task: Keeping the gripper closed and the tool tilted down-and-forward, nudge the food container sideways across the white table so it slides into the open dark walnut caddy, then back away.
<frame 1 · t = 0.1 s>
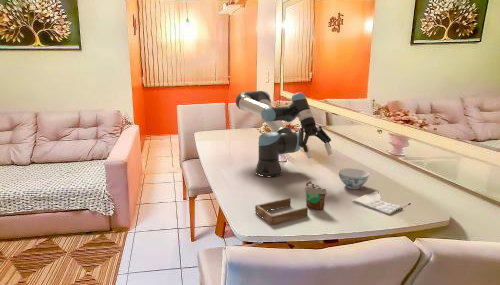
hand: (320, 156, 177), 15 cm above the table, tool tilted 35°, fingers open, 13 cm apart
chinaware: (352, 187, 177), on the table
caddy: (281, 214, 144), on the table
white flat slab: (381, 204, 156), on the table
food container: (311, 207, 152), on the table
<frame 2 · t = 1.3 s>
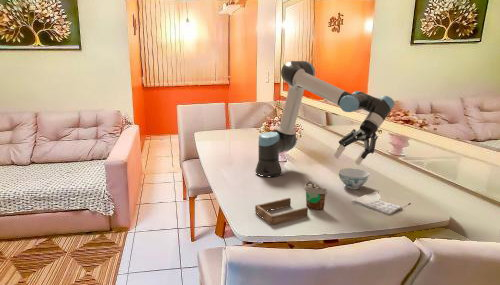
hand: (345, 160, 157), 19 cm above the table, tool tilted 45°, fingers open, 13 cm apart
nothing on the table moved.
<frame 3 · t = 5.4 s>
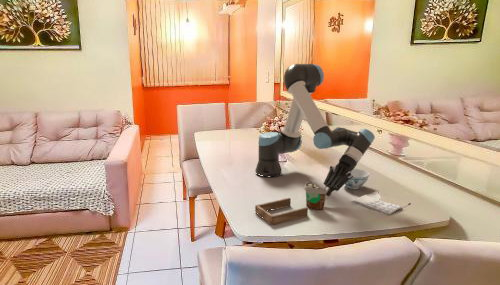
hand: (321, 200, 152), 3 cm above the table, tool tilted 45°, fingers closed
food container: (311, 207, 152), on the table, touching gripper
everything else where it was.
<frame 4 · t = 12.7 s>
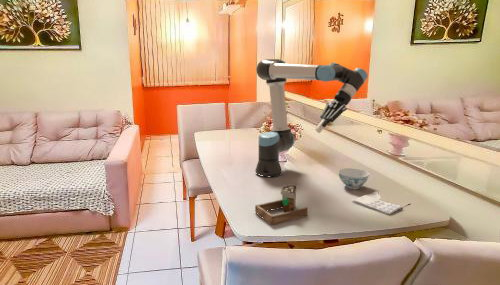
hand: (317, 131, 166), 30 cm above the table, tool tilted 45°, fingers closed
food container: (287, 210, 149), resting in caddy
everything else where it was.
at the end: food container inside the target area on the caddy (5.8 cm from its centre), point 0.0 cm above the caddy's base; food container tilted 0°; food container moved 11.4 cm from its start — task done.
